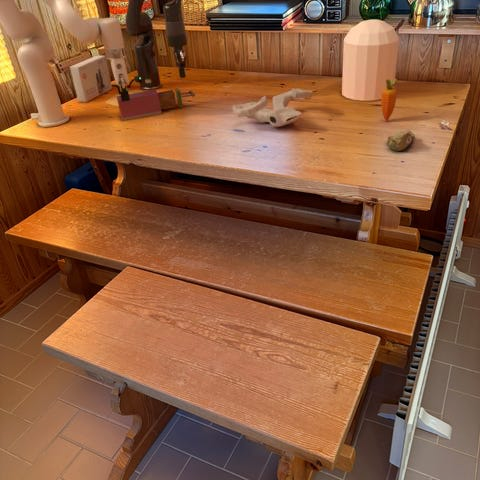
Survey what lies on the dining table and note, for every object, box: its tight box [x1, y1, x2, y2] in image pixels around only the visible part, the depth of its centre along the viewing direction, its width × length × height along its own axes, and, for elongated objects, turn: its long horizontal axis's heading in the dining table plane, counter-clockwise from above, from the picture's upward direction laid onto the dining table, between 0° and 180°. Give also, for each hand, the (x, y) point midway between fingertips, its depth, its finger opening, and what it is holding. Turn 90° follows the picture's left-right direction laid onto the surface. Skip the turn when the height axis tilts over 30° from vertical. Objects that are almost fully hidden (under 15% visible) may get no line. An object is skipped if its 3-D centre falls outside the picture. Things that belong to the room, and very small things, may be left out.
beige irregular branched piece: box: [231, 88, 314, 128], centre depth 171 cm, size 28×26×12 cm
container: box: [341, 18, 400, 102], centre depth 185 cm, size 21×21×28 cm
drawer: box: [157, 87, 196, 110], centre depth 194 cm, size 21×5×7 cm, turn 109°
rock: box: [387, 129, 416, 152], centre depth 146 cm, size 11×6×10 cm
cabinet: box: [115, 89, 162, 121], centre depth 191 cm, size 16×6×8 cm, turn 109°
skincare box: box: [69, 54, 113, 103], centre depth 218 cm, size 21×6×16 cm, turn 158°
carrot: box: [380, 78, 398, 122], centre depth 161 cm, size 5×5×15 cm
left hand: (124, 97), depth 188 cm, fingers open, 9 cm apart
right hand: (182, 77), depth 192 cm, fingers closed
